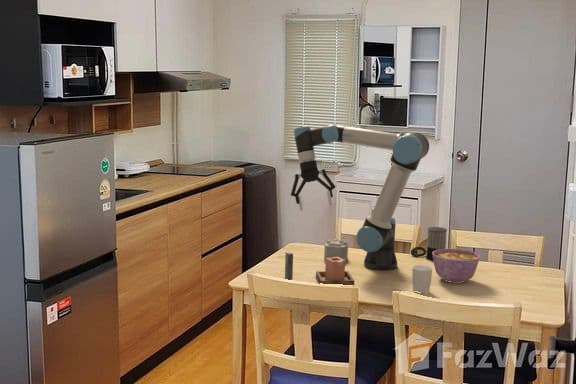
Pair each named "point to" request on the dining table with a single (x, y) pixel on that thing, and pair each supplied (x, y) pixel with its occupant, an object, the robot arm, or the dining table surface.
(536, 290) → the dining table surface
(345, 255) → the lumpy-topped squat cylinder
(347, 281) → the tray
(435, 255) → the bowl of food
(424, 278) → the white cup
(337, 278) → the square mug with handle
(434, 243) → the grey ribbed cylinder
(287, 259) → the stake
